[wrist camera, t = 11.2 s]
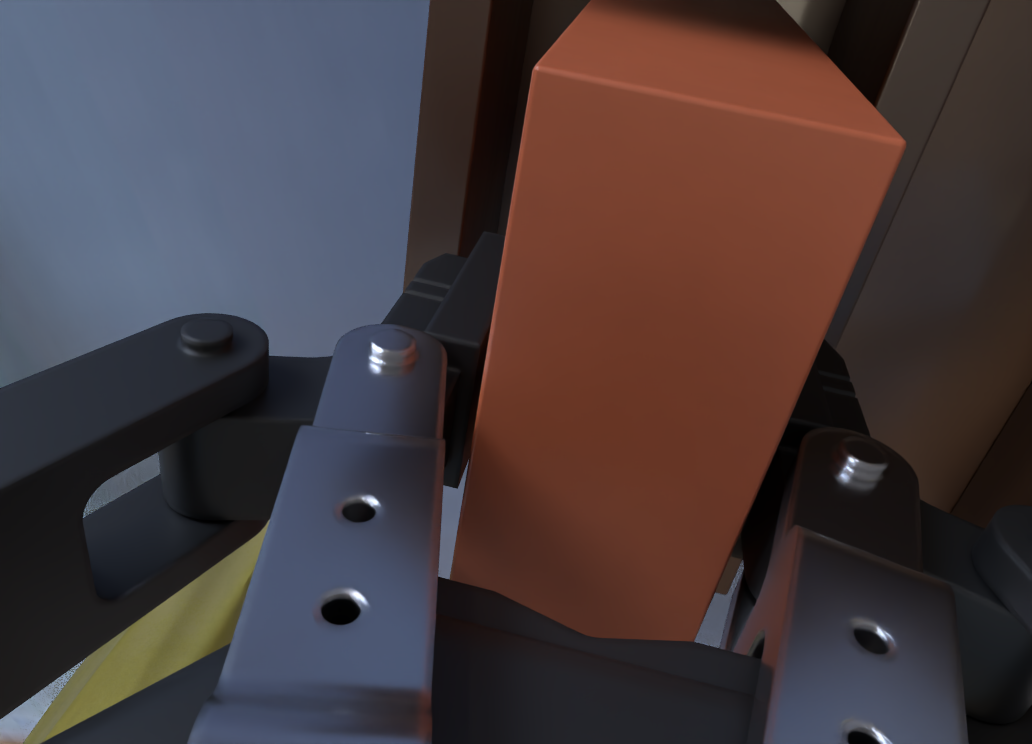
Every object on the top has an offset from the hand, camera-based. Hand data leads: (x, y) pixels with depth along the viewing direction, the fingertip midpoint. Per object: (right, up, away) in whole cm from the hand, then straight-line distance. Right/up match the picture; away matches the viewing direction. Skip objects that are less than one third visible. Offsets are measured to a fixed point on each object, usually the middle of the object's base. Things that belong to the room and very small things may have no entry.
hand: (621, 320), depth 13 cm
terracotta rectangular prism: (+1, +3, +5) cm, 6 cm away
